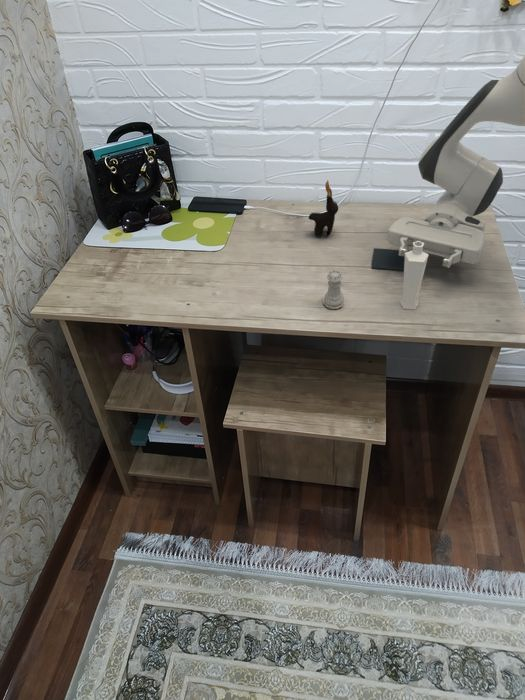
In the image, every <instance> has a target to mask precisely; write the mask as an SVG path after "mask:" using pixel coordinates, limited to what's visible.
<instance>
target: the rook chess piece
mask: <svg viewBox="0 0 525 700" xmlns="http://www.w3.org/2000/svg"><path fill="white" fill-rule="evenodd" d="M343 277H344V276H343V275H342V272H341V271H340V270H336V269H333V270H330V271H329V272H328V274H327V276H326V279H327V280H328V281H327V285H328V287H327V292H326V293H325V295H324V297H323V305H324V307H326V308H327V309H329V310H338V309H341V307H343V306H344V304H345V297H344V295H343V293H342V292H341V285H342V280H343Z"/></svg>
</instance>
